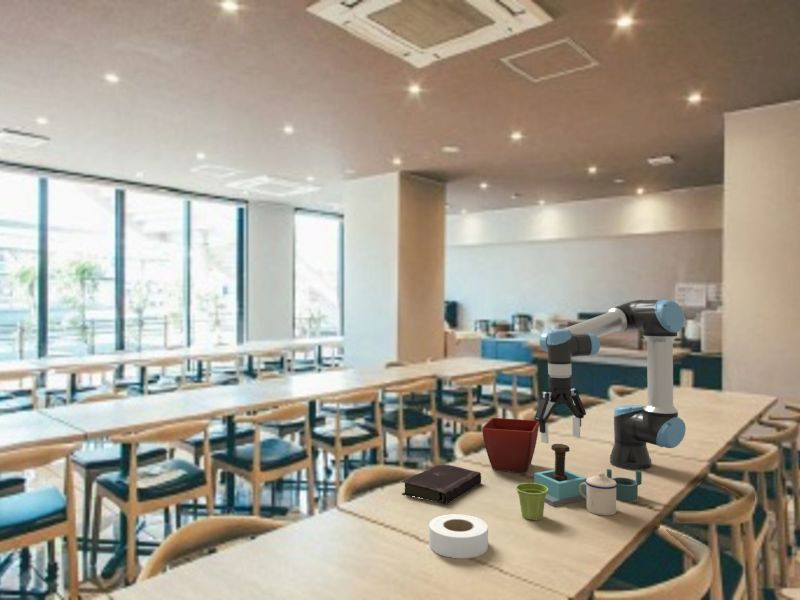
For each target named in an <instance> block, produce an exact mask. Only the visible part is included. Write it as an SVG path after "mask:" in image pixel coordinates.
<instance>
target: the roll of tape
mask: <svg viewBox="0 0 800 600" xmlns="http://www.w3.org/2000/svg"><path fill="white" fill-rule="evenodd" d="M428 523H429V524H428V545H429V548H430V550H432V551H433V552H434V553H436V554H437V553H438V555H439V556H442V555H443V557H447V558H450V557H451V558H452V559H472V558H476V557H479V556H482V555H483V554H484V553H486V552H487V551H488V549H489V548H488V547H489V525H488V524H487V523H486V522H485V520H483V519H481V518H479V517H476V516H472V515H468V514H459V513H456V514H455V513H453V514H451V513H450V514H444V515H440V516H439V515H438V516H435V517H433V518H432V519H430V521H429V522H428Z"/></svg>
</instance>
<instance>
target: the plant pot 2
mask: <svg viewBox="0 0 800 600" xmlns="http://www.w3.org/2000/svg"><path fill="white" fill-rule="evenodd" d="M515 489H516V491H517V494H518V496H519V497H518V499H519V505H520V512H521V516H522V518H524V519H526V520H533V521H539V520H542V519H543V516H544V509H545V496H546V493H547V492H548V488H547V487H546V486H544V485H541V484H537V483H534V482H522V483H519V484H517V485H516V486H515Z"/></svg>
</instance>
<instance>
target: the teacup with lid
mask: <svg viewBox="0 0 800 600" xmlns="http://www.w3.org/2000/svg"><path fill="white" fill-rule="evenodd" d="M586 478H587V480H586V482H583V483H581V484H580V485H579V491H580V493H581V495H582V496H583V497H584V498H586V499H585V500H586V509H587V511H589V512H590V513H592V514H594V515H598V516H606V517H607V516H613V515H615V514H616V513H617V499H616V487H617V483H616V481H615V480H613V479H611V478H608V477H607V475H605V472H602V471H599V472H597V474H596V475H593V476H590V477H586ZM583 485H587V495H585V494H584V492H583V489H582V486H583Z"/></svg>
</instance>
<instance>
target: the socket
mask: <svg viewBox="0 0 800 600" xmlns="http://www.w3.org/2000/svg"><path fill="white" fill-rule="evenodd" d="M553 473H555V469H549V470H544V471H538V472H534V475H533V478H534V479H533V480H534V482H533V483H537V484H541V485H544V486H546V487H547V488H548V492H547V493H546V496H545V502H544V504H548V505H549V506H551V507H555V506H560V505H565V504H570V503H574V502H579V501H584V500H587V499H586V498H584V497H583V496H582V495H581V493H580V491H579V485H580V484H581V483H583V482H586V480H587V478H588V477H585V476H583V475H580V474H577V473H576V472H572V471H569V470H567V469H565V474H566V475H567V480H566V481H561V482H559V481H556V480H554V479H552V474H553ZM582 489H583V492H584V494H585V495H587V485H583V486H582Z"/></svg>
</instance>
